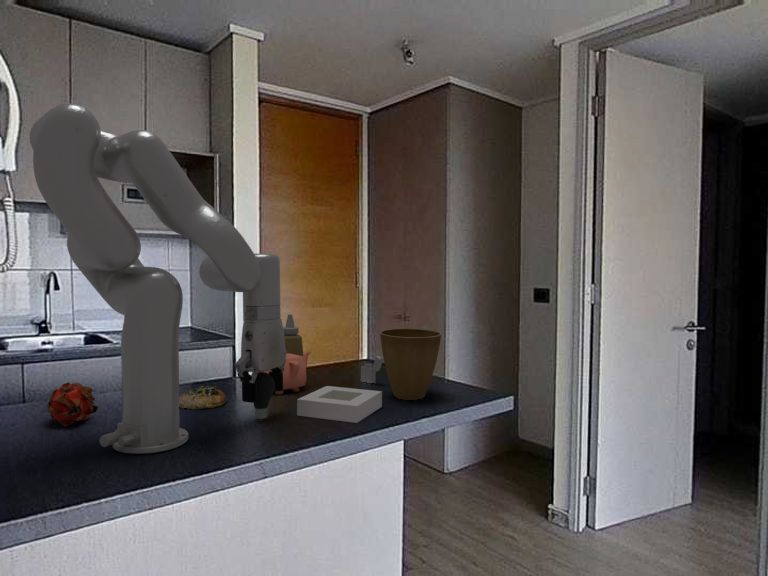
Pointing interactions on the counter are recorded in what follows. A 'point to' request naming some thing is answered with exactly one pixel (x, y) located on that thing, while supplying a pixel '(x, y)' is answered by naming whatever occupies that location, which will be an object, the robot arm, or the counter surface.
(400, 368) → the plant pot
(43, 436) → the counter surface
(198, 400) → the bread roll
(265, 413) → the light bulb
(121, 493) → the counter surface
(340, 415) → the socket block
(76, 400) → the dragon fruit
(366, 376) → the lighter
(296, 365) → the teapot
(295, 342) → the squeeze bottle
